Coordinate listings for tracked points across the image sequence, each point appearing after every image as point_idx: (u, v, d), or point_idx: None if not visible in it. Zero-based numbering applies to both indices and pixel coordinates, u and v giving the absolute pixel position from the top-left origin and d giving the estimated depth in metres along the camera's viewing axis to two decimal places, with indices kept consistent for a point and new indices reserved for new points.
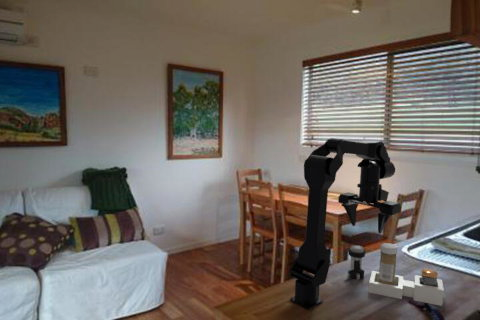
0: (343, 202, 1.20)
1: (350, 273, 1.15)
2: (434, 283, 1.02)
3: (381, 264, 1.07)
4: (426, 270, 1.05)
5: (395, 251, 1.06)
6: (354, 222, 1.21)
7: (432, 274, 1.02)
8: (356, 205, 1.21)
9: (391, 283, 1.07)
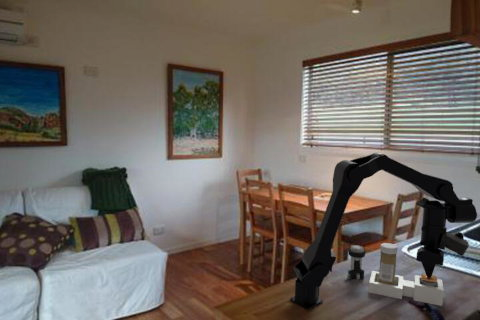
0: None
1: (350, 273, 1.15)
2: None
3: (381, 264, 1.07)
4: None
5: (395, 251, 1.06)
6: None
7: (432, 279, 1.02)
8: None
9: (391, 283, 1.07)
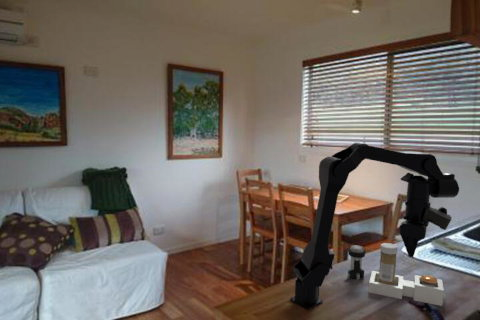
0: None
1: (350, 273, 1.15)
2: None
3: (381, 264, 1.07)
4: (426, 276, 1.05)
5: (395, 251, 1.06)
6: None
7: (431, 280, 1.02)
8: None
9: (391, 283, 1.07)
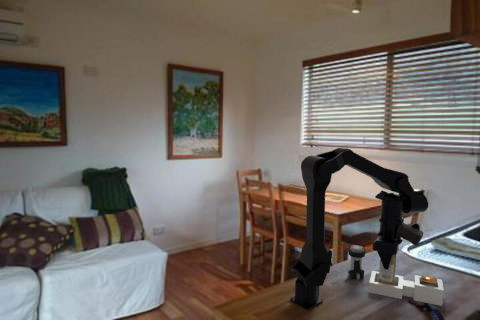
0: None
1: (350, 273, 1.15)
2: None
3: (381, 264, 1.07)
4: (426, 276, 1.05)
5: None
6: None
7: (431, 280, 1.02)
8: None
9: (391, 283, 1.07)
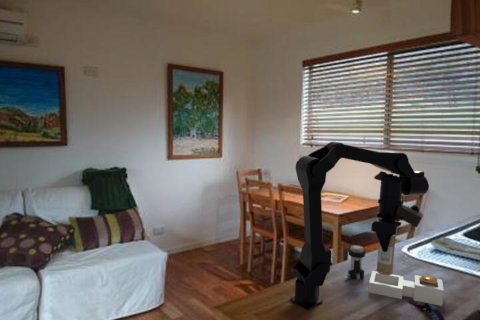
0: None
1: (350, 273, 1.15)
2: None
3: (380, 247, 1.06)
4: (426, 276, 1.05)
5: None
6: None
7: (431, 280, 1.02)
8: None
9: (390, 266, 1.05)
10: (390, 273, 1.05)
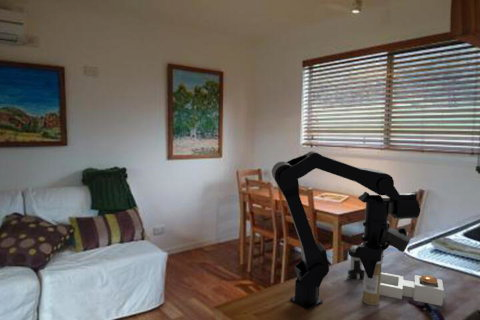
0: None
1: (350, 273, 1.15)
2: None
3: (365, 275, 1.00)
4: (426, 276, 1.05)
5: (380, 261, 0.98)
6: None
7: (431, 280, 1.02)
8: (382, 247, 1.02)
9: (376, 295, 0.99)
10: (376, 303, 1.00)
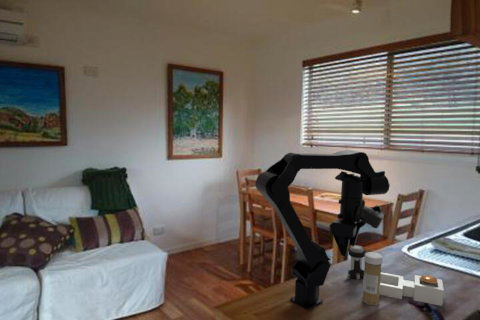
0: None
1: (350, 273, 1.15)
2: None
3: (365, 275, 1.00)
4: (426, 276, 1.05)
5: (380, 261, 0.98)
6: (352, 242, 1.08)
7: (431, 280, 1.02)
8: (359, 224, 1.07)
9: (376, 295, 0.99)
10: (376, 303, 1.00)
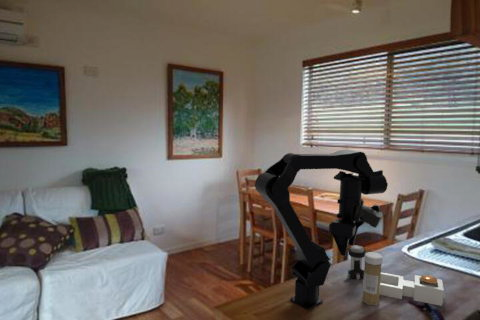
0: None
1: (350, 273, 1.15)
2: None
3: (365, 275, 1.00)
4: (426, 276, 1.05)
5: (380, 261, 0.98)
6: (351, 241, 1.08)
7: (431, 280, 1.02)
8: (358, 224, 1.07)
9: (376, 295, 0.99)
10: (376, 303, 1.00)
